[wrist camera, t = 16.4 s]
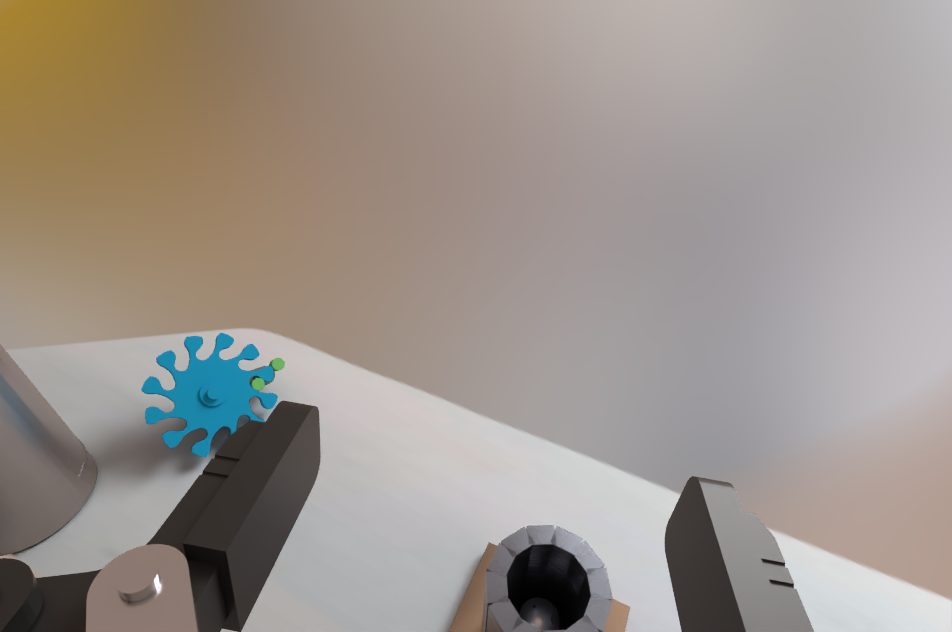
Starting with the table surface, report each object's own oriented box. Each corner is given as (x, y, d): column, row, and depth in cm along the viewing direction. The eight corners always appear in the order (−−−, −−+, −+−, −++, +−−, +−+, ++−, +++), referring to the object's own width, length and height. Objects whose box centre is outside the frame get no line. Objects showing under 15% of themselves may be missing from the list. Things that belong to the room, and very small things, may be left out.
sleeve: (519, 735, 30) (536, 685, 23) (462, 633, 33) (463, 564, 27) (600, 668, 32) (637, 606, 25) (539, 580, 36) (558, 505, 29)
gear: (167, 479, 40) (121, 355, 40) (165, 474, 45) (123, 363, 45) (308, 421, 46) (267, 312, 46) (291, 421, 51) (255, 323, 51)
